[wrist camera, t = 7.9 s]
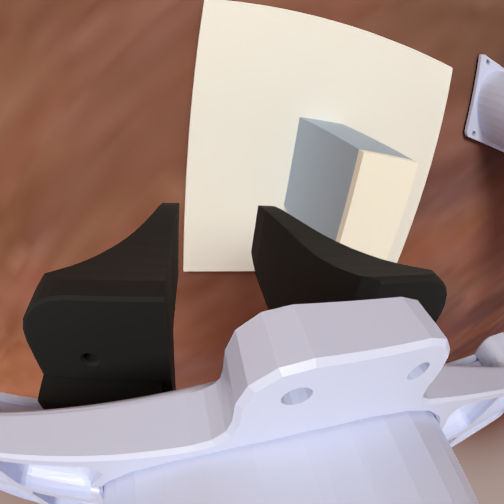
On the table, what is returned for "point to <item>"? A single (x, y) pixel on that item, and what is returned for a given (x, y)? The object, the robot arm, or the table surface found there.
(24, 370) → the table surface
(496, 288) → the table surface
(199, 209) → the tile
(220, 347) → the table surface
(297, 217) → the block
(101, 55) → the table surface
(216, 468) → the robot arm
